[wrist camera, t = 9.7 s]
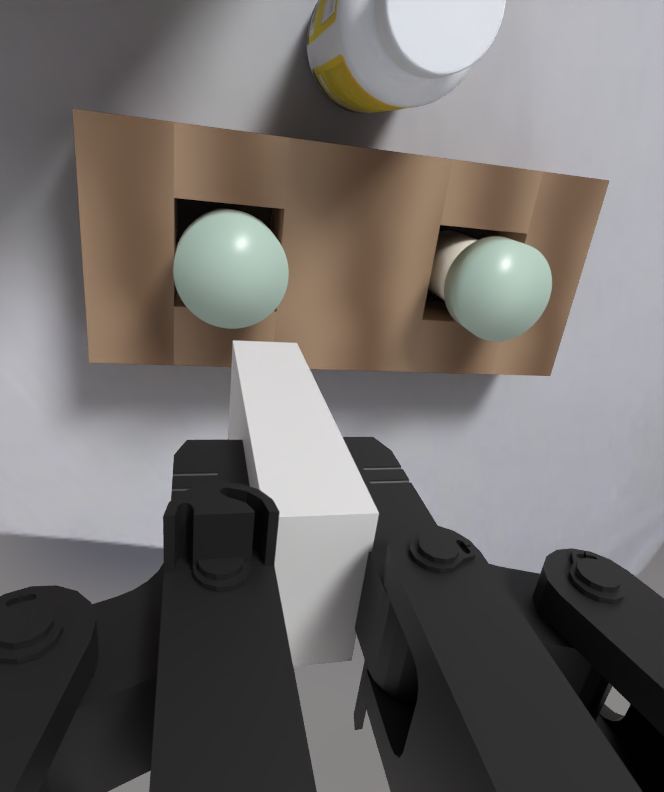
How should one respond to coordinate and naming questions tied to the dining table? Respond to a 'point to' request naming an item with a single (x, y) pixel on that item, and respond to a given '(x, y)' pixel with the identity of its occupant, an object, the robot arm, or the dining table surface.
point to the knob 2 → (490, 284)
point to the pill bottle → (397, 49)
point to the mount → (314, 246)
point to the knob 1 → (230, 269)
